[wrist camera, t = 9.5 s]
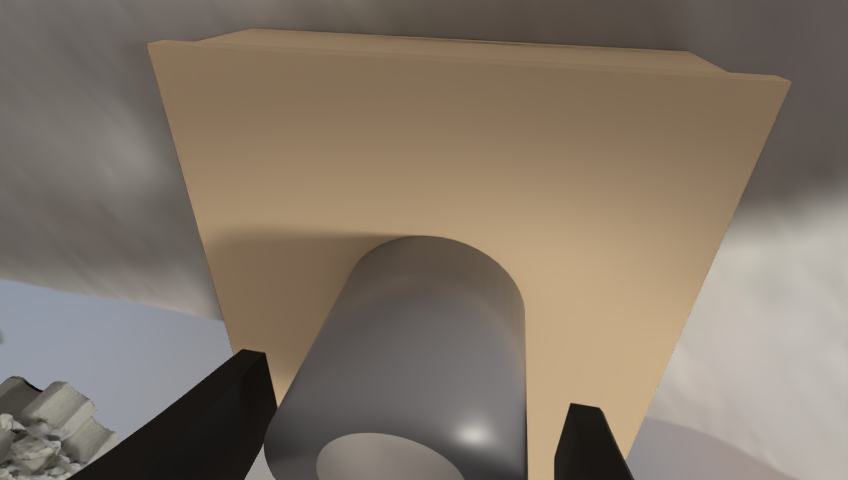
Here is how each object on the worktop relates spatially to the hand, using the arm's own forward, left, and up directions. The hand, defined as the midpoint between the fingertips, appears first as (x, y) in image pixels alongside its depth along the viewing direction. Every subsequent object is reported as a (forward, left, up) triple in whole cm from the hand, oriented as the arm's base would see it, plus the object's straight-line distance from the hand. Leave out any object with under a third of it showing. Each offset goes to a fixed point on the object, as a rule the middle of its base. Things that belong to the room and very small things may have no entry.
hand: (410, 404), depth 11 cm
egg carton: (+27, +17, -8) cm, 33 cm away
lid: (0, 0, -4) cm, 4 cm away
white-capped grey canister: (0, 0, -3) cm, 3 cm away
